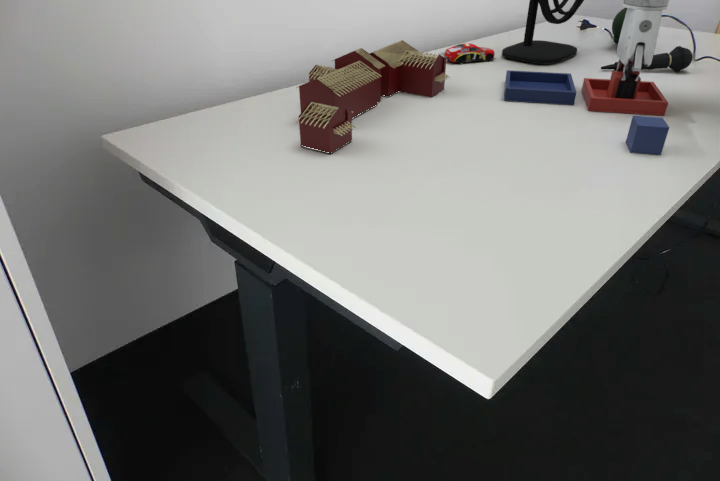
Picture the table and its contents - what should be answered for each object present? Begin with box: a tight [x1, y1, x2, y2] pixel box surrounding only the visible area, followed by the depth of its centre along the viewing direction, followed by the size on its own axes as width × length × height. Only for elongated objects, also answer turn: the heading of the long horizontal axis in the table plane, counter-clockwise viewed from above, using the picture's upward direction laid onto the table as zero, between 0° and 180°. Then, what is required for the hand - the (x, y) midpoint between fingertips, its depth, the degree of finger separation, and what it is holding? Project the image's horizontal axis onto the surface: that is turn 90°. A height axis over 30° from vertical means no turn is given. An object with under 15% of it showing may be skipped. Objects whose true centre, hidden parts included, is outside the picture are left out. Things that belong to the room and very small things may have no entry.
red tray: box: [581, 77, 669, 117], centre depth 108 cm, size 14×14×3 cm
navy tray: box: [503, 69, 577, 106], centre depth 114 cm, size 14×14×3 cm
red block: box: [607, 70, 642, 99], centre depth 107 cm, size 5×5×5 cm
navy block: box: [625, 115, 670, 156], centre depth 88 cm, size 5×5×5 cm
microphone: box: [600, 45, 694, 73], centre depth 126 cm, size 6×6×20 cm
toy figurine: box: [611, 7, 627, 45], centre depth 143 cm, size 9×19×25 cm
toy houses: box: [295, 39, 451, 153], centre depth 104 cm, size 45×20×10 cm, turn 148°
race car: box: [443, 42, 496, 64], centre depth 136 cm, size 13×5×4 cm, turn 105°
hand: (621, 96), depth 108 cm, fingers closed on red block, 4 cm apart
